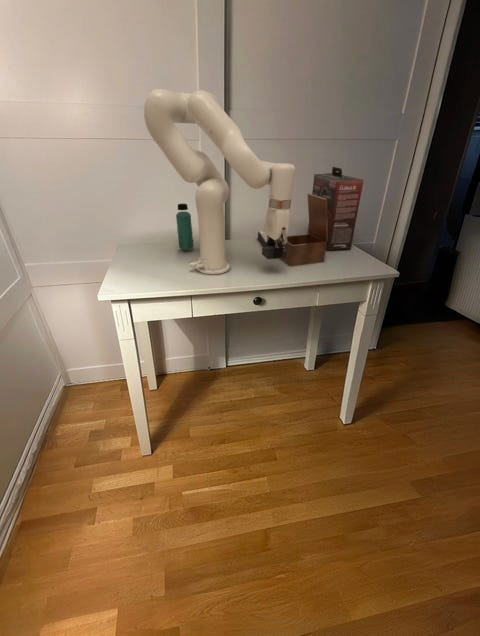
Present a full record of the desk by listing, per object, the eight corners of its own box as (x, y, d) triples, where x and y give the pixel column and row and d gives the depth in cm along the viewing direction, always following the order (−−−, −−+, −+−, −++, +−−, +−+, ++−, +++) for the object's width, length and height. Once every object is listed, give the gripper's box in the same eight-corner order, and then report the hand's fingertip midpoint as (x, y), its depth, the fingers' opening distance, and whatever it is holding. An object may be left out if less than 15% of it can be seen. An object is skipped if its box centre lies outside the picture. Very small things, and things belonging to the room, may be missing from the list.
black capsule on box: (267, 259, 112) (268, 248, 109) (261, 254, 116) (262, 243, 114) (286, 257, 114) (287, 247, 112) (279, 252, 118) (281, 242, 116)
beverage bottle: (195, 252, 138) (192, 204, 128) (180, 253, 136) (176, 206, 126) (191, 247, 143) (188, 201, 133) (177, 249, 141) (173, 203, 131)
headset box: (305, 236, 161) (314, 164, 144) (328, 234, 163) (339, 164, 146) (326, 251, 140) (339, 170, 123) (351, 250, 142) (367, 170, 125)
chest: (290, 266, 124) (292, 245, 120) (276, 256, 135) (278, 237, 130) (323, 261, 129) (327, 242, 125) (308, 252, 139) (310, 233, 135)
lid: (325, 199, 115) (338, 195, 116) (307, 193, 125) (319, 190, 127) (326, 241, 125) (338, 237, 126) (309, 232, 135) (321, 229, 136)
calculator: (264, 240, 141) (257, 230, 153) (264, 249, 143) (257, 238, 155) (288, 239, 142) (279, 229, 155) (287, 248, 145) (278, 237, 157)
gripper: (259, 199, 111) (255, 248, 120) (281, 210, 97) (274, 264, 107) (278, 198, 113) (273, 247, 123) (301, 209, 100) (294, 262, 109)
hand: (274, 254), depth 115 cm, fingers closed on black capsule on box, 5 cm apart
